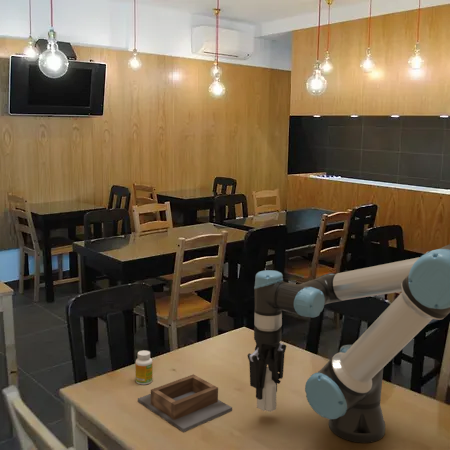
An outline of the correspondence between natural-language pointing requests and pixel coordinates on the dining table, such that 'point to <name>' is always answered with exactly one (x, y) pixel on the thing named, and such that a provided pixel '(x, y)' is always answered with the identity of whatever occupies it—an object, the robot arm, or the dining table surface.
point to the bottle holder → (186, 402)
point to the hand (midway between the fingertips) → (266, 406)
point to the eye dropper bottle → (270, 391)
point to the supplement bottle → (143, 368)
